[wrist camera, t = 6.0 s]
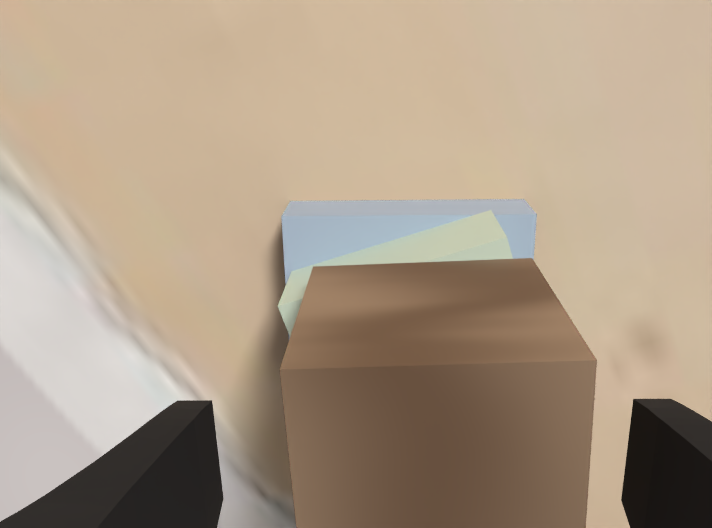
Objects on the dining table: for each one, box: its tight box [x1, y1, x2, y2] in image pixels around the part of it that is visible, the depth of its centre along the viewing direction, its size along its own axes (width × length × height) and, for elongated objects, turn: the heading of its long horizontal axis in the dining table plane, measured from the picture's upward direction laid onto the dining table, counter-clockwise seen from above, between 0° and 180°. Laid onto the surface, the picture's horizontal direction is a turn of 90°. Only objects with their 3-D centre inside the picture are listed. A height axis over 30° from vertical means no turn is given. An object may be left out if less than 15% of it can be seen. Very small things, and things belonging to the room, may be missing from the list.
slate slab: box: [282, 199, 537, 339], centre depth 18 cm, size 6×6×2 cm
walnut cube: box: [280, 258, 597, 528], centre depth 12 cm, size 4×4×4 cm
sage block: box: [278, 210, 513, 336], centre depth 16 cm, size 5×5×2 cm
